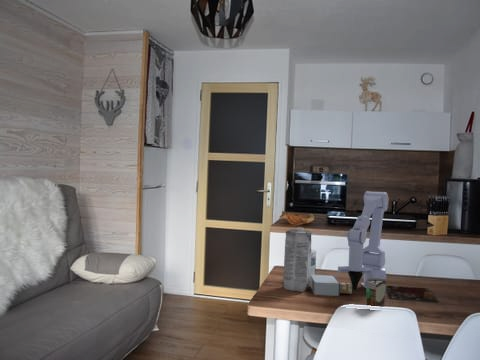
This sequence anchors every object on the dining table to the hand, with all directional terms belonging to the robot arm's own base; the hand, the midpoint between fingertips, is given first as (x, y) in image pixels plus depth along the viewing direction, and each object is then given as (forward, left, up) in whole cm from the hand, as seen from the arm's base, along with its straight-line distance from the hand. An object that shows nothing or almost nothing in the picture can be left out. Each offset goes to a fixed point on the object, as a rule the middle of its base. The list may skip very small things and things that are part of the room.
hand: (354, 289), depth 176 cm
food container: (-4, +15, -2) cm, 16 cm away
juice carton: (+24, -3, -2) cm, 25 cm away
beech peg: (+6, 0, -1) cm, 7 cm away
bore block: (+12, -3, -2) cm, 13 cm away
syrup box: (+17, -21, -2) cm, 27 cm away
